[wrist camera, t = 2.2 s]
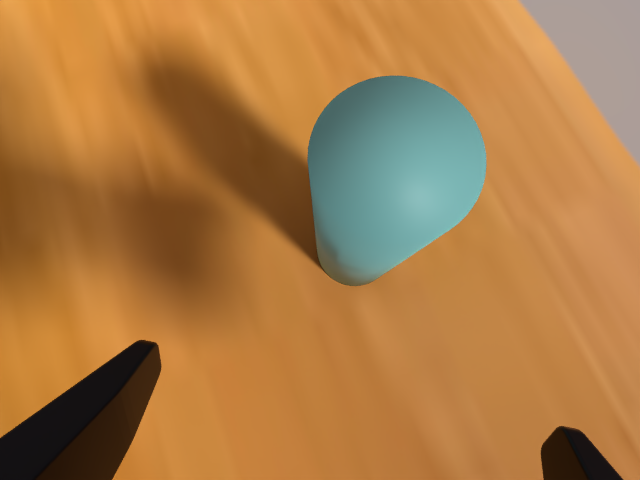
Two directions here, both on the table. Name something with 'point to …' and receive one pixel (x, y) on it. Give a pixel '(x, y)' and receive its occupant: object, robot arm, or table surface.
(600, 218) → the table surface
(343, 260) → the peg
